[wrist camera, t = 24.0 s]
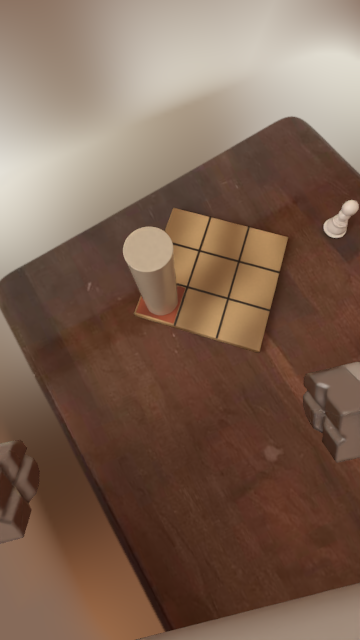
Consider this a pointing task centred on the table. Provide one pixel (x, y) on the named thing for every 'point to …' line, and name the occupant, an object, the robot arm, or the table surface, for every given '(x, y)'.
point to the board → (221, 279)
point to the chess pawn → (341, 220)
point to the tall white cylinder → (153, 268)
